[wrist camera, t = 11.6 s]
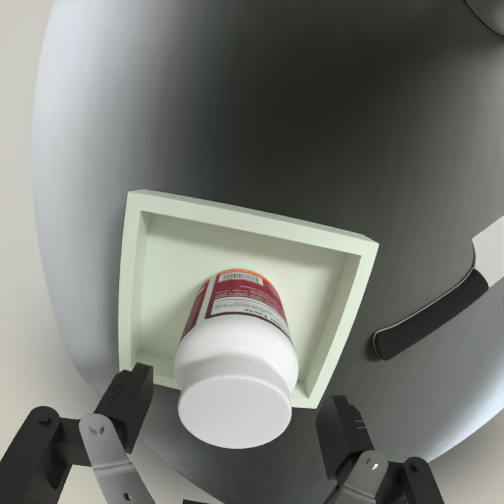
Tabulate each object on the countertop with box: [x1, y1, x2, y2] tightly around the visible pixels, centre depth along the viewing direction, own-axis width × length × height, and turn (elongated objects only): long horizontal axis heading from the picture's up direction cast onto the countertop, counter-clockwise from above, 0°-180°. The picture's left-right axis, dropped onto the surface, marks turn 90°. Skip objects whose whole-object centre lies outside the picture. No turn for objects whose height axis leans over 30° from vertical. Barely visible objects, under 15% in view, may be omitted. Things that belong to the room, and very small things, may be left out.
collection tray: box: [118, 189, 379, 408], centre depth 20 cm, size 16×14×3 cm
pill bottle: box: [174, 268, 298, 449], centre depth 16 cm, size 6×6×11 cm
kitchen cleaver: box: [373, 215, 504, 361], centre depth 21 cm, size 31×2×10 cm
